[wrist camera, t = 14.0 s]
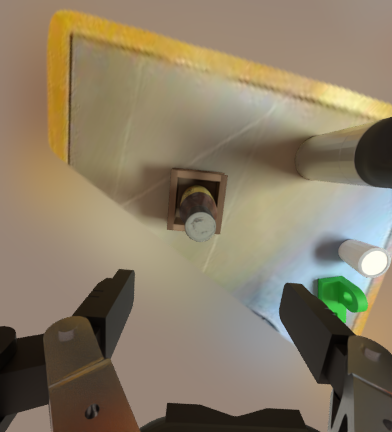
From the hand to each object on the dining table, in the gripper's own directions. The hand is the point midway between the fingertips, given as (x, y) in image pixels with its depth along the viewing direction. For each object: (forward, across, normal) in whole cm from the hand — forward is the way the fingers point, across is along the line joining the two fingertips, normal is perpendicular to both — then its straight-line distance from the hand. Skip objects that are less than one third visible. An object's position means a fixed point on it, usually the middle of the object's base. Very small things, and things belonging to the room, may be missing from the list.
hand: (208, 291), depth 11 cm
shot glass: (+36, -38, +9) cm, 53 cm away
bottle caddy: (+36, 0, 0) cm, 36 cm away
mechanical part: (+37, -36, +23) cm, 56 cm away
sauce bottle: (+35, 0, 0) cm, 35 cm away
